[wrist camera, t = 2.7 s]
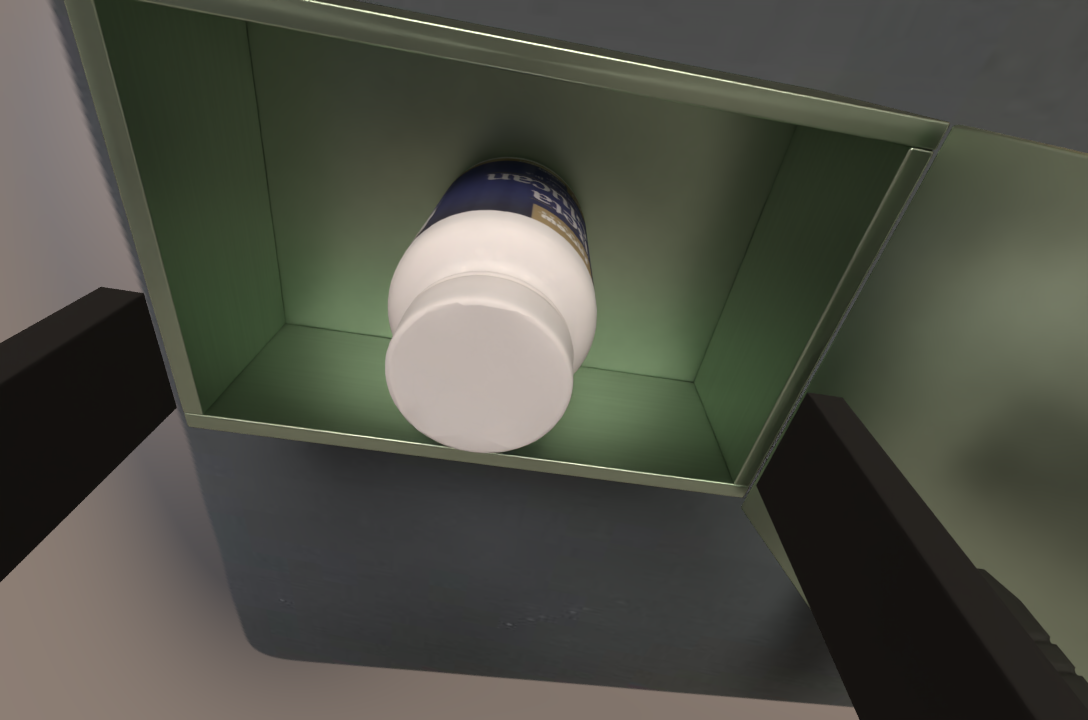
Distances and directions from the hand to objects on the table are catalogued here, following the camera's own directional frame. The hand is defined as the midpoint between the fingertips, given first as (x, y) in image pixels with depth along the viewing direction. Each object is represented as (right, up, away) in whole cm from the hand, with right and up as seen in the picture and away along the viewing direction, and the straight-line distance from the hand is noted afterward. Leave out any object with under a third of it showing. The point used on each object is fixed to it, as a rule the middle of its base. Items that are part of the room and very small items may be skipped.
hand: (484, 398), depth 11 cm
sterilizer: (0, +6, +9) cm, 11 cm away
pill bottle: (0, +6, +8) cm, 10 cm away
